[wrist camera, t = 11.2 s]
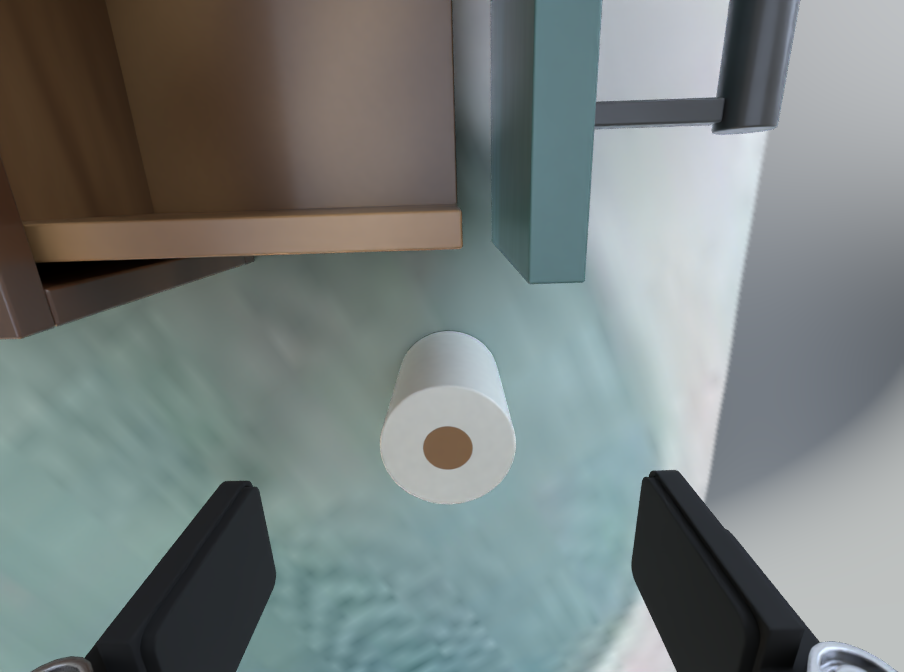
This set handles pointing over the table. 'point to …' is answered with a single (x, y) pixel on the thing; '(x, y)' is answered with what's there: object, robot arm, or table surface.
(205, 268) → the cabinet
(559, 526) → the table surface
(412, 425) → the paper towel roll
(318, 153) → the drawer
